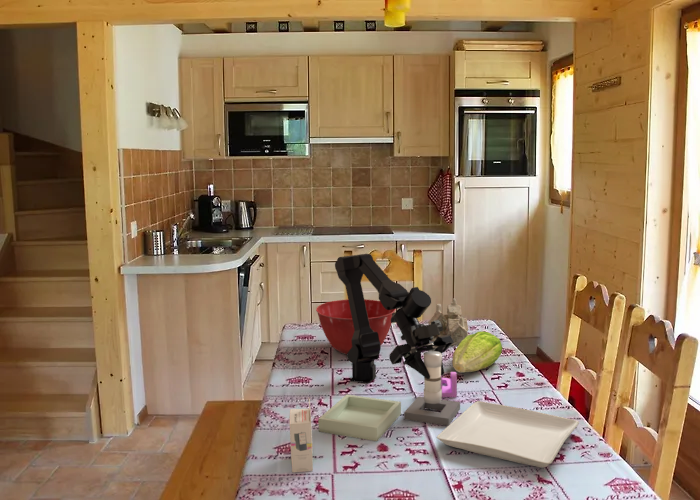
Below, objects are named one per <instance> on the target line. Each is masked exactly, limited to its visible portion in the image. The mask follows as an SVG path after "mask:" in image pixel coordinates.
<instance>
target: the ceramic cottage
mask: <svg viewBox="0 0 700 500" xmlns="http://www.w3.org/2000/svg"><path fill="white" fill-rule="evenodd" d="M446 307H447V308H446V310H447V311H446V313H447V314H443V313H442V304H441V303H437V304H436V307H435V313H434V314H433V316H432V317H431V318H430V319H429V320H428V321H427V325H430V324H431V322H432V321H435V320H439V321H440V322H441V324H442V326H443V331H440V335H435V336H433V339H432V340H431V341H430V342H434V341H435V340H436V339H437V337H439V336H444V335H450V336H451V337H452V339H453V341H454V343H453V344H452V345H451V346H454V347H455V346H458V345H459V344H460V343H461V341H462V340H463V339H465V338H466V337H467V336H468V335H470V334H469V333H468V331H469V325H468V319H467V318H464V317H463V316H462V315H463V313H462V309H461V308H462V306H461V305H459V304H458V303H457V299H456V298H452V301H451V303H450V305H449V304H448V305H447V306H446Z"/></svg>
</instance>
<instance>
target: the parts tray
mask: <svg viewBox="0 0 700 500" xmlns="http://www.w3.org/2000/svg"><path fill="white" fill-rule="evenodd" d="M401 415H402V402H401V401H398V400H391V399H384V398H383V399H382V398H375V397H368V396H361V395H360V396H359V395H353V394H346V395H344V396H343V397H342V398H340V400H338V401H337V402H336V403H335V404H333V406H331V407H330V408H329V409H327V411H325V412H324V413H323V414H322V415H321V416H320V417H319V418H318V432H319V433H324V434H331V435H337V436H342V437H348V438H355V439H361V440H367V441H373V442H378V441H379V440H380V439H381V438H382V436H384V434H385V433H386V432H387V431H388V430H389V429H390V428H391V426H392V425H393V424H394V423H395V421H397V419H398V418H399V417H400V416H401Z"/></svg>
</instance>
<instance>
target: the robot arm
mask: <svg viewBox="0 0 700 500" xmlns="http://www.w3.org/2000/svg"><path fill="white" fill-rule="evenodd" d="M334 268H335V270H336V274H337V277H338V279H339V281H341V282H342V283H343V285H344V286H345V290H346V294H347V295H346V296H347V299H348V301H349V306H350V311H351V315H352V320H353V325H354V334H353V337H352V340H351V341H352V348H351V349H350V350H349V352H348V353H347V354H346V358H347V361H348V362H350V363H351V370H352V371H351V372H352V377H351V378H350V382H357V383H364V384H370V383H372V382H373V380H375V379H376V378H377V367H376V366H377V365H376V364H375V361H376V360H379V357H380V353H381V346H382V345H381V343H380V341H379V335H378V333H377V332H374V331H373V330H372V329H371V328H370V324H369V319H368V315H367V310H366V305H365V300H364V299H365V297H364V291H363V286H362V279H363V277H365V278H367V280H368V281H369V282H370V283H371V285H372V286H373V287H374V288H375V290H376V291H377V292H378V301H380V302H381V303H382V305H383V307H384V308H385V309H386V310H392V309H396V311H395V312H394V313H392V317H391V323H392V324H394V323H396V325H397V327H398V329H399V331H400V332H401V334H402V335H401V336H400V339H401V341H405V343H404V344H400V345H396V346H395V348H394V349H393V350H392V351H391V352H390V353H389V361H390V363H391V365H398V364H401V363H403V365H405V366H406V365H407V366H408V367H410V368H412V369H413V370H414V371H416V372H417V373H418V374H420V375H421V376H423V378H424V377H425V378H427V379H429V378H430V375H429V372H428V370H427V368H426V366H425V364H424V359H423V357H422V353H425V352H428V351H437V352H440V353H442V354H444V353H445V352H446V351H447V350H448V349H449V348H450V347H451V346H453V345H452V344H453V343H454V341H453V339H452V337H451V336H450V335H444V336H439V337H437V339H436V340H435V341H431V340H432V339H433V336H435V335H440V331H443V326H442V324H441V322H440V321H439V320H435V321H432V322H431V324H430V325H429V324H424V323H420V321H419V319H420V317H422V315H424V313H426V310H427V309H428V308H429V307H430V306H431V304H432V298H431V296H430V295H429V294H428V293H427V292H425V291H424V290H421V289H420V288H419V287H418V286H415V287H410V290H409V291H408V290H407V288H405V287H404V286H403V285H401V284H400V283H397V282H395V281H393V280H391V279H390V278H389V276H388V275H387V274H386V273H385V271H383V269H382V268H381V267H380V266H379V265H378V264H377V263H376V262H375V260H374V258H373V255H372V254H370V253H362V254H361V253H360V254H353V255H344V256H338V258H337V260H336V261H335V263H334ZM380 345H381V346H380ZM403 358H404V361H403ZM402 361H403V362H402ZM443 375H445V370H444V364H443V361H442V366H441V376H442V377H443Z"/></svg>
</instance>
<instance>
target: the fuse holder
mask: <svg viewBox="0 0 700 500" xmlns="http://www.w3.org/2000/svg"><path fill="white" fill-rule="evenodd" d="M425 409H426V410H425ZM429 410H430V411H429ZM431 410H434V411H431ZM460 410H461V402H460V401H454V400H448V399H447V400H446V399H442V401H441V402H440V403H437V404H430V403H426V402H424V396H417V397H416V399H415V400H413V402H412V403H411V404H410V406H408V407H407V408H406V410H405V411H404V419H403V420H407V421H414V422H420V423H425V424H426V423H427V424H433V425H439V426H446V427H448V426H449V425H450V424H451V423H452V422H453V421H454V420H455V419H454V418H455V417H456V416H457V414H458V413H459V411H460ZM437 411H440V412H437Z"/></svg>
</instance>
